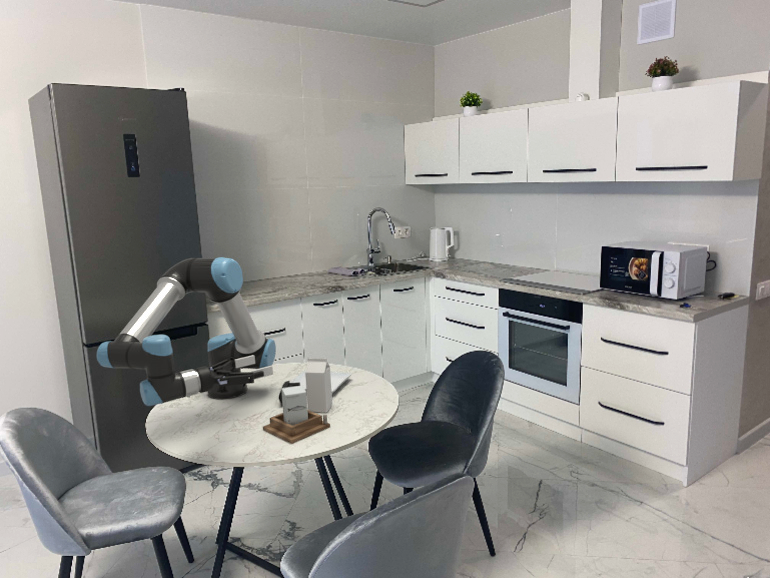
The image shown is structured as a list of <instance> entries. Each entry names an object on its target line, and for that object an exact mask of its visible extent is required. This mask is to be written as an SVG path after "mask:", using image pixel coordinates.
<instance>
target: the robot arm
mask: <svg viewBox="0 0 770 578" xmlns="http://www.w3.org/2000/svg"><path fill="white" fill-rule="evenodd" d="M243 282H244V277H243V270H242V268H241V266H240V264H239V263H238V261H237V260H235V259H233V258H231V257H230V258H229V257H222V256H221V257H190V258H186V259H183V260H181V261H179V262H177V263H176V264H174V265H173V266H171V267H170V268H169V269H168V270H166V271H165V273H163V274H162V275H161V276H160V278H159V279H158V280H157V282H156V288H155V289H154V290H153V292H152V293H151V294H150V296H149V297H148V298H147V299H146V300H145V301H144V303H143V304H142V305H141V306H140V308H139V309H138V310H137V312H136V313H135V314H134V315H133V317H132V318H131V319H130V320H129V322H127V324H126V325H125V327H124V328H123V329H122V330H121V332H120V333H119V334H118V335H117V336H116V337H115V339H114V341H111V340H109V341H104V342H102V343H101V344H100V345H99V346H98V348H97V350H96V361H97V362H98V364H99V365H100V366H101V367H104V368H110V369H130V370H132V369H135V370H136V369H137V370H145V372H146V379H144V380H142V381H140V383H139V392H140V397H141V399H142V402H143V404H144V405H145V406H147V407H152V406H156V405H163V404H165V403H168V402H172V401H173V402H174V401H177V400H179V399H183V398H186V397H187V398H188V399H189V398H190V397H191V396H196V395H198V394H199V393H200V394H203V393H207V396H208V397H209V398H211V399H215V400H226V399H233V398H238V397H239V396H243V395H244V394H246V392H247V391H248V387H247V385H248V384H254V383H255V380H258V379H261V378H265V377H269V376H274V370H273V363H274V361H275V359H276V351H277V350H276V349H277V345H276V342H275V340H274V339H273V338H266V335H265V333H264V332H263V331H262V330H261V329H260V330H259V329H258V328H257V326H256V324H255V322H254V320H253V318H252V315H251V314H250V312H249V309H248V307H247V305H246V304H245V301H244V299H243V296H242V295H241V293H240V292H241V289H242V286H243ZM190 293H205V294H206V296H207V297H208V299H209V301H210V302H212V303H215V304H216V305H217V307H218V308H219V311H220V312H221V314H222V316H223V318H224V319H225V322H226V325H228V328H229V329H230V330H229V331H230V332H229V333H223V334H219V335H216V336H213V337H211V338H210V339H209V340H208V342H207V353H208V364H209V366H206V365H204V366H200V367H196V368H195V369H193V368H191V369H187V370H183V371H179V372H175V363H174V354H173V352H174V351H173V347H172V343H171V339H170V337H169V336H168V335H166V334H154V332H155V330H156V329H157V328H158V327H159V325H161V323H162V321H163V320H164V318H166V316H167V315H168V313H169V312H171V309H172V308H173V307H174V306H175V304H176V303H177V301H181V300H182V299H184V297H185V296H186V295H187V294H190ZM242 369H244V370H245V369H246V370H251V371H244V372H243V371H241V370H242Z"/></svg>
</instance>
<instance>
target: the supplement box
mask: <svg viewBox="0 0 770 578" xmlns="http://www.w3.org/2000/svg"><path fill="white" fill-rule="evenodd" d="M281 388H282V387H281ZM281 388H280V391H281V390H282V403H283V404H282V413H283V417H284V422H285V423H288V424H290V425H292V426H293V425H296V424H298V423H301V422H303V421H306V420H308V411H307V410H308V405H307V393H306V391H305V389H304V387H303V385H302V386H295V387H288V388H282V389H281Z"/></svg>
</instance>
